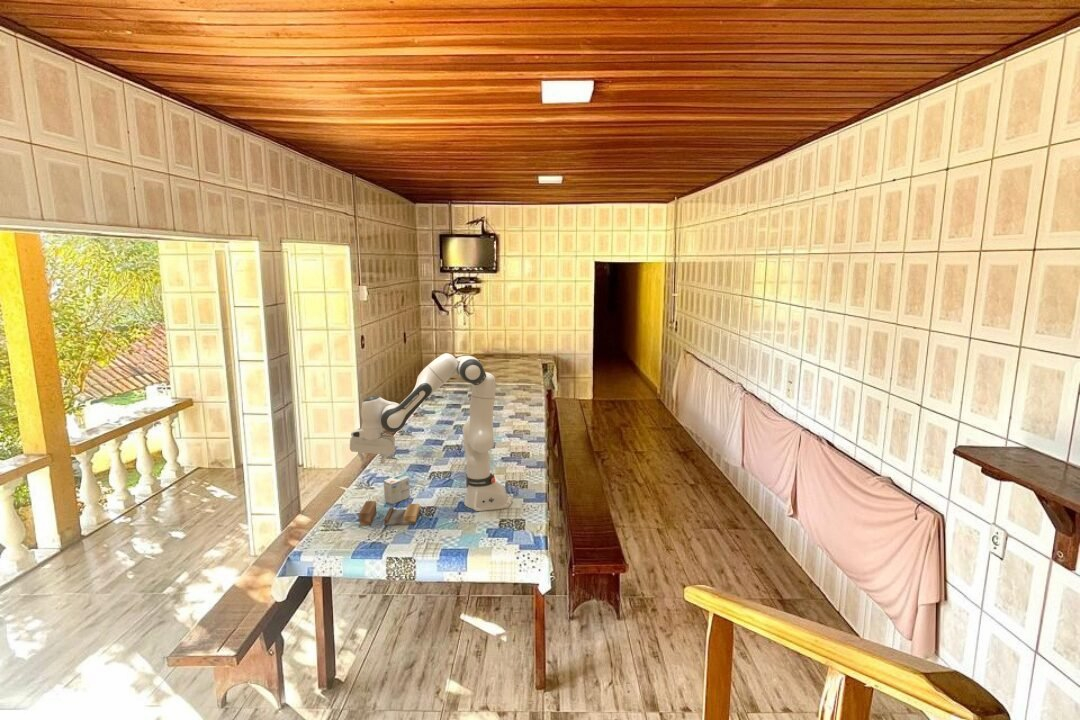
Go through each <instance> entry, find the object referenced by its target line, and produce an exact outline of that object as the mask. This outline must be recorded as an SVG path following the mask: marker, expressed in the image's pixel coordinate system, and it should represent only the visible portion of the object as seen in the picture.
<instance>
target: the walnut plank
mask: <svg viewBox="0 0 1080 720" xmlns="http://www.w3.org/2000/svg"><path fill="white" fill-rule="evenodd" d="M376 514H377V501H376V500H373V501H372V500H370V501H369V500H367V501H365V502H364V504H363V506H362V508H361V509H360V511H359V513H358V515H359V516H358V517H359V526H361V527H363V526H365V527H367V526H368V525H369V526H371V525H372V523H373V520H374V519H375V517H376Z"/></svg>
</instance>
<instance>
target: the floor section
mask: <svg viewBox="0 0 1080 720" xmlns="http://www.w3.org/2000/svg"><path fill="white" fill-rule="evenodd" d="M420 507H421V506H420V503H408V504H407V506H406V509H394V507H392V506H391V507H389V508H388V511H387V513H386V515H385V517H384V519H383V521H384V522H383V525H386V526H387V527H388V526H416V523H417V522H418V521H417V520H418V518H419V515H420V512H421V509H420Z"/></svg>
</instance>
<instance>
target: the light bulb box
mask: <svg viewBox="0 0 1080 720" xmlns="http://www.w3.org/2000/svg"><path fill="white" fill-rule="evenodd" d="M383 490H384V491H383V492H384V502H387V503H389V504H391V505H395V504H397V503H400V502H401V501H404V500H407V499H409V498H411V493H410V492H411V491H410V490H411V489H410V476H408V475H405V474H403V473H400V474H397V475H395V476H392V477H390V478H386V479H384V480H383Z"/></svg>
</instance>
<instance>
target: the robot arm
mask: <svg viewBox="0 0 1080 720" xmlns="http://www.w3.org/2000/svg"><path fill="white" fill-rule="evenodd" d="M456 376H458V377H460V378H461V379H462V380H463V381H465V382H467V383H469V384H471V394H470V401H469V409H468V412H469V420H468V421H466V422H465V423H464V424H463V426H462V437H463V445H464V452H465V459H466V474H465V475H466V476H465V485H466V486H465V487H466V492H465V497H464V502H463V503H464V505H465V507H467V508H469V509H471V510H474V511H476V512H483V511H484V512H486V511H494V510H500V509H501V510H502V509H503V510H504V509H508V508H509V507H510V506H511V504H512V497H511V495H509V494H508V493H507V491H506V488H505V487H504V485H502V484H500V483H499V482H497V481H496V479H495V474H494V473H492V472H491V457H490V454H489V451H491V450H492V449H493V448H494V444H495V440H494V417H493V415H494V406H495V399H496V391H497V390H496V387H497V386H496V377H495V376H494V375H493V374H492V373H490V372H487V371H485V369H484V365H483V364H482V363H481V362H480V360H478V358H476V357H475V356H473V355H470V354H462V355H459V356H454V355H453V354H451V353H448V352H447V353H446V352H445V353H443V354H441V355H439V356H438V357H435V359H434V360H432V361H431V362H430V363H429V364H427V365H426V366H425V367H424V368H423V369H422V370H421V372H420V373H419V374H418V375H417V379H416V383H415V386H414V388H413V390H412V391H411V393H410V394H408V396H407V397H406V398H404V399H403V400H402V401H401V402H400V403H398V402H396V401H390V400H386V399H385V398H382V397H381V396H379V395H371V396H367V397H366V398H364V399H363V401H362V402H361V403H362V404H361V415H360V416H361V419H362V424H361V427H359V428H356V429H354V430H353V431H351V433H350V436H351V438H350V439H349V450H350V452H354V453H357V455H358V457H359V458H360V462H363V463H364V462H366V456H364V455H363V453H365V454H374V455H382V458H381V459H380V464H385V463H386V458H387V457H388V456H392V455H393V454H395V452H396V444H395V441H396V440H395V436H394V435H393V434H391V433H395V432H399V431H401V430H402V429H403V428H404V427H405V425H406V423H407V420H408V418H409V417H410V416H411V414H413V412H415V410H417V409H418V407H419V406H421V405H422V404H423V403H424V401H426V400H427V399H428V398H429V397H430V396H431V395H432V394H434V393H435V392H436V391H437V390H439V389H440V388H441V387H443V385H444V384H446V383H447V382H448V381H449V380H450V379H451V378H452V377H456ZM383 430H385V431H387V432H390V433H385V432H383Z"/></svg>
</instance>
